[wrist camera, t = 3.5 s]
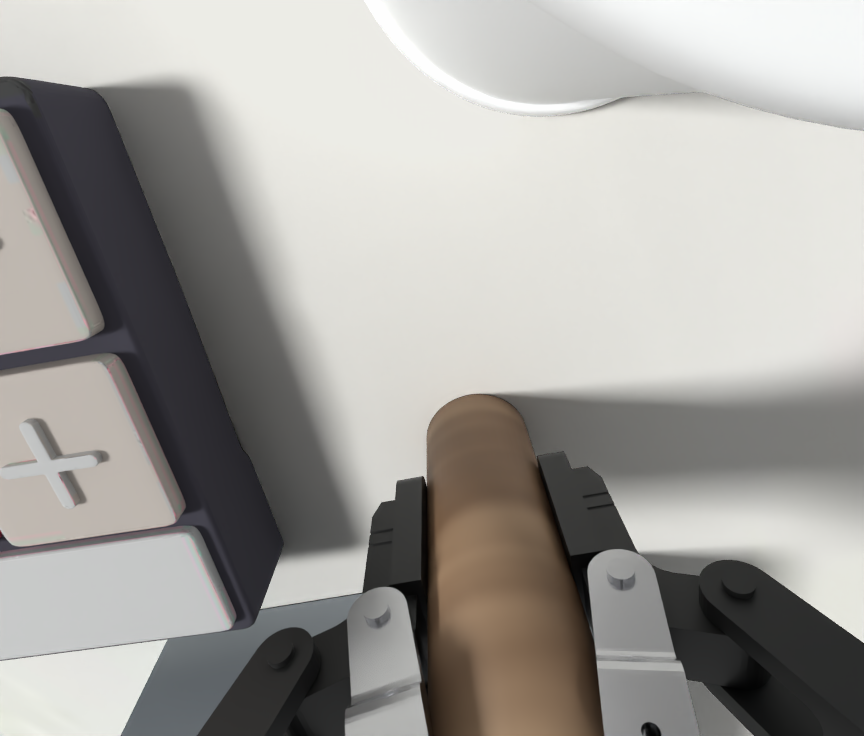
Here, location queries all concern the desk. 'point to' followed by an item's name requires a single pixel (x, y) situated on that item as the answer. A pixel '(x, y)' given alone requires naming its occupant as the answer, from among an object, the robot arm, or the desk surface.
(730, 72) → the white cylindrical bottle
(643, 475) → the desk surface
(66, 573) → the calculator
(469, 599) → the peg
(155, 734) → the grey open box
